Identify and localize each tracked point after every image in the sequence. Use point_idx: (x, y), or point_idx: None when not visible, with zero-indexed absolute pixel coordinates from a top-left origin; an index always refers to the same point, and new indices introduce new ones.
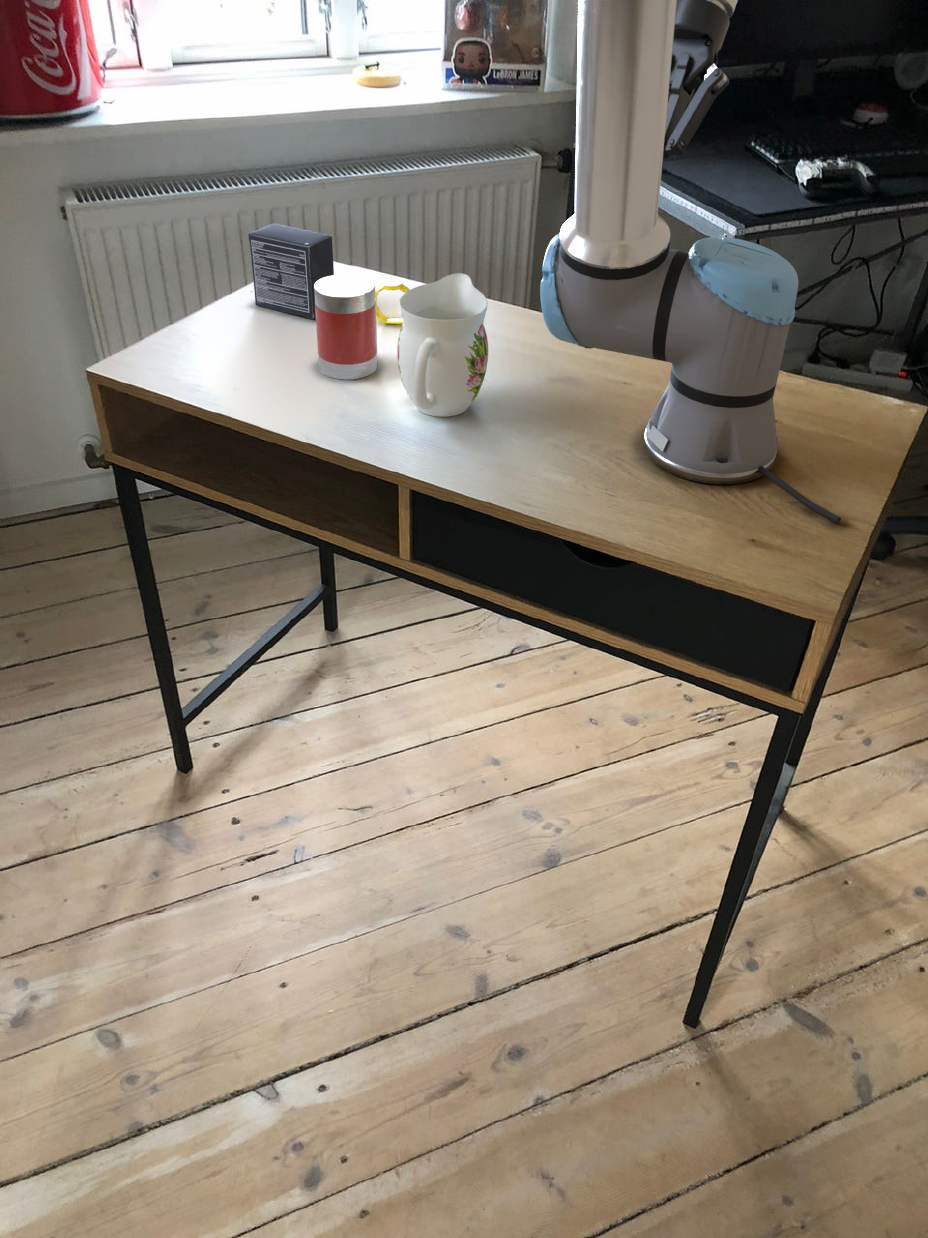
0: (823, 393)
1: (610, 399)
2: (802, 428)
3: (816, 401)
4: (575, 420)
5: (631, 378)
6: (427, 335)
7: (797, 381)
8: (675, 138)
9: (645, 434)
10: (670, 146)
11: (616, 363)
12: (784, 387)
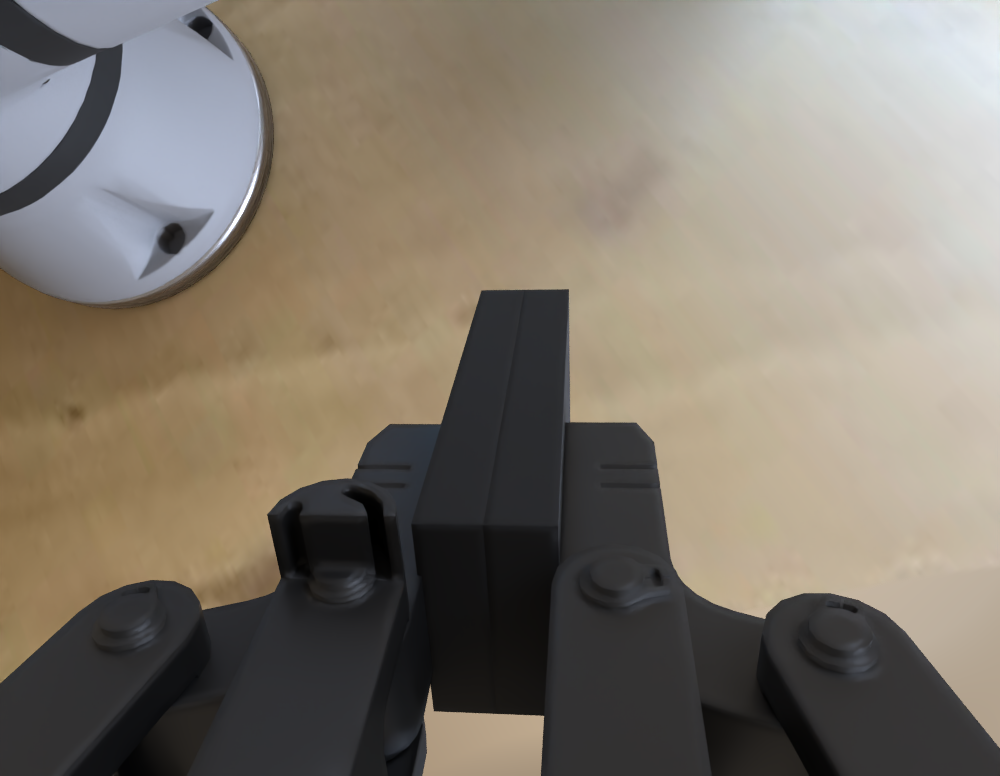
0: None
1: (452, 198)
2: (11, 427)
3: (40, 597)
4: (452, 32)
5: None
6: None
7: None
8: (70, 657)
9: (234, 40)
10: (158, 589)
11: (574, 408)
12: None
